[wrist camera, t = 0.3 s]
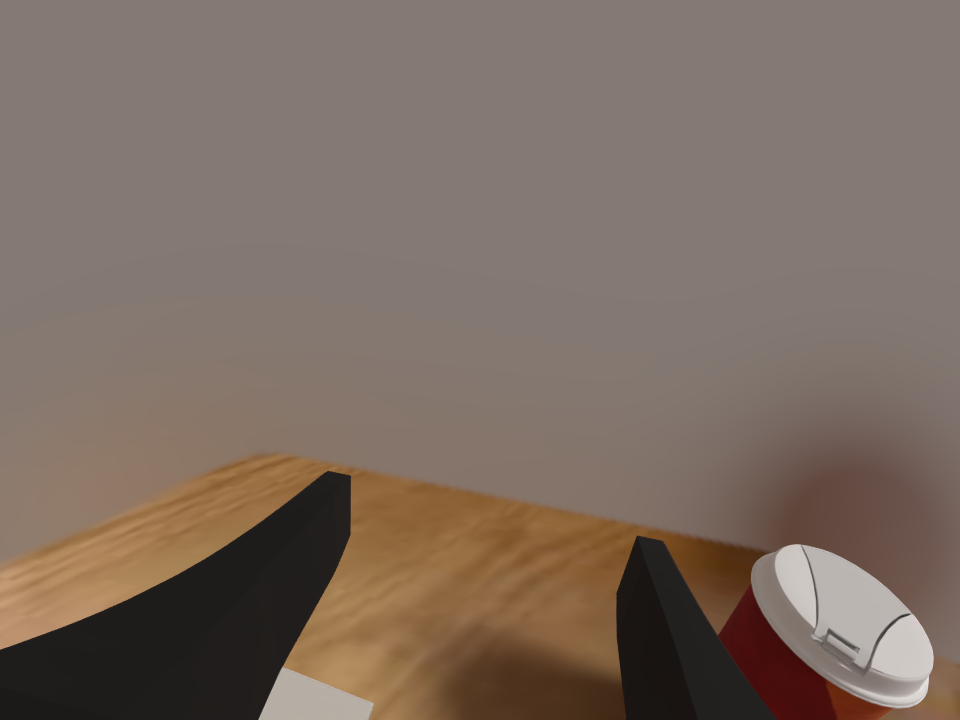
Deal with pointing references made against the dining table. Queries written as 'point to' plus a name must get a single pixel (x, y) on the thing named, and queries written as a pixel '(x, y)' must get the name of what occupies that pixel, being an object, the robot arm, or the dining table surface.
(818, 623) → the paper cup
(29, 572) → the dining table surface
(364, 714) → the stoneware tile
